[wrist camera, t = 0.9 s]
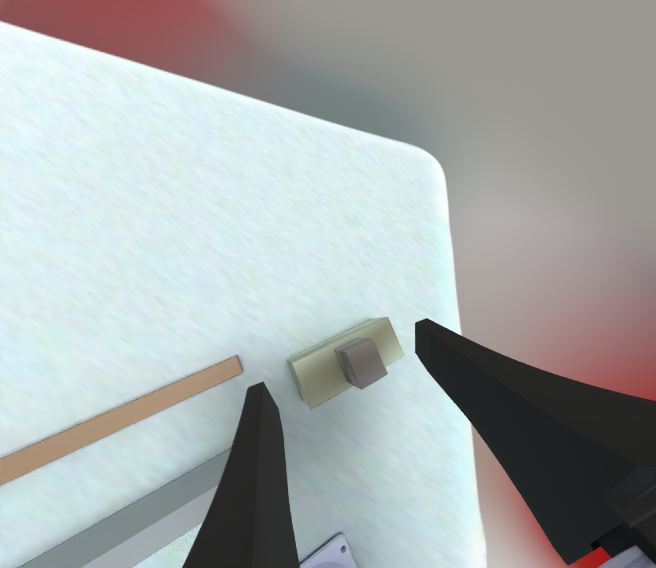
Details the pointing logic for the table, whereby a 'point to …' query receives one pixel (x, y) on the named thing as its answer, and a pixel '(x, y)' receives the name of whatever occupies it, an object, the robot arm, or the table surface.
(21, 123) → the table surface
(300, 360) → the beige block with knob
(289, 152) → the table surface
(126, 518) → the grey and tan bars
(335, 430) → the table surface
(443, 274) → the table surface
